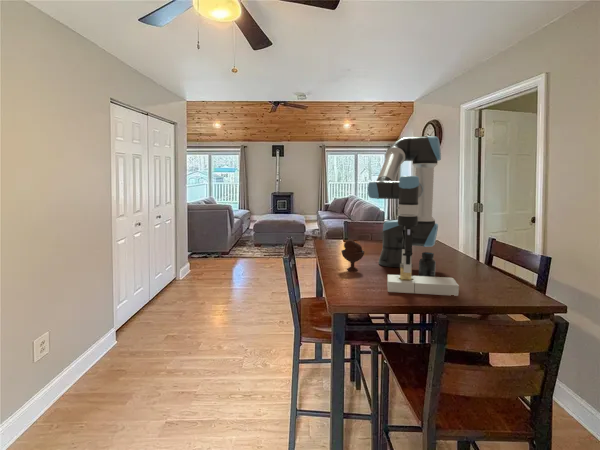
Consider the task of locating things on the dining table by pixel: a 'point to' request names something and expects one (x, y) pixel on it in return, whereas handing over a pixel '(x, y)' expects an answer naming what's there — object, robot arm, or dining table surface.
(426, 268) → the supplement bottle
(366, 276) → the dining table surface
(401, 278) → the gold grey cylinder
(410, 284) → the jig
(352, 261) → the ice cream bowl
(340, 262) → the dining table surface
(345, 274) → the dining table surface
